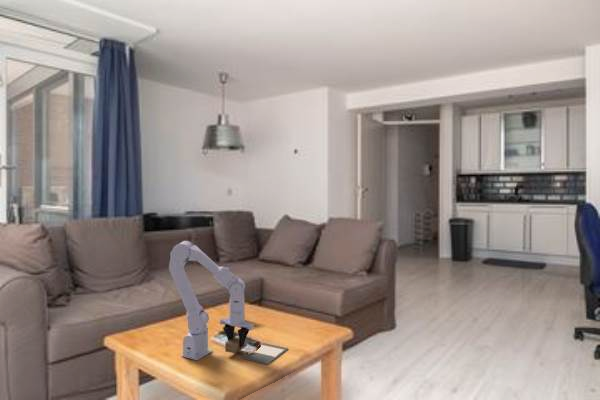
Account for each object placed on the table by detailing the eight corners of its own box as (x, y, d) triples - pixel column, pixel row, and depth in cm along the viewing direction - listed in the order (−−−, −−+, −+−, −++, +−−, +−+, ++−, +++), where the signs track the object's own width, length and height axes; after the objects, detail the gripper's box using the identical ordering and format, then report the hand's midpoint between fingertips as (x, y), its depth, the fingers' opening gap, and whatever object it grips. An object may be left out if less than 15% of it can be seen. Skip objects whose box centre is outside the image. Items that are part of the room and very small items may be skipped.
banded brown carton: (235, 353, 155) (235, 344, 154) (225, 351, 157) (225, 342, 156) (246, 346, 162) (246, 337, 162) (237, 344, 164) (237, 335, 164)
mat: (267, 364, 150) (267, 363, 150) (240, 358, 155) (240, 357, 155) (288, 349, 164) (288, 348, 164) (262, 343, 169) (262, 342, 169)
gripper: (258, 310, 159) (257, 344, 160) (227, 305, 165) (227, 338, 166) (248, 315, 153) (247, 351, 153) (216, 309, 159) (216, 344, 160)
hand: (236, 344), depth 159 cm, fingers closed on banded brown carton, 4 cm apart
